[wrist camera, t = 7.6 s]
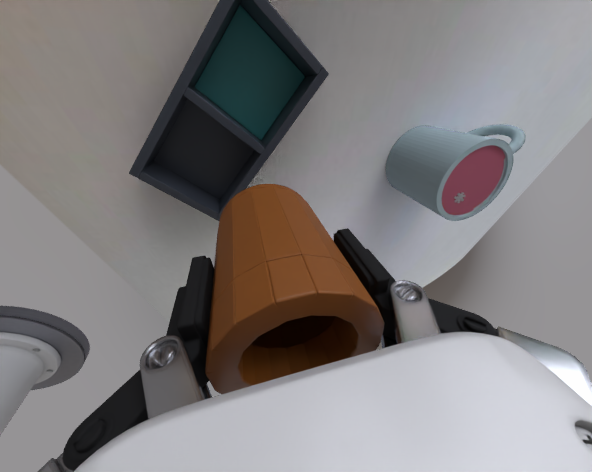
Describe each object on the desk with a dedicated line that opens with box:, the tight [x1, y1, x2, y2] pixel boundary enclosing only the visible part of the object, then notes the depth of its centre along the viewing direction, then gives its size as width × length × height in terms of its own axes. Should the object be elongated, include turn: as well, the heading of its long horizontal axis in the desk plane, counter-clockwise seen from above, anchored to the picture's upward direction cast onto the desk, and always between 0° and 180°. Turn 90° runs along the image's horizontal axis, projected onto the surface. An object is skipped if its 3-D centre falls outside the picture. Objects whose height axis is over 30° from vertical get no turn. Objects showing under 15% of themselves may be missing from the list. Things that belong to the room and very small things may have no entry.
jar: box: [205, 184, 385, 394], centre depth 12 cm, size 6×6×9 cm
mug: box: [386, 124, 525, 221], centre depth 29 cm, size 14×9×10 cm
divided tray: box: [129, 0, 329, 221], centre depth 23 cm, size 10×18×5 cm, turn 140°
